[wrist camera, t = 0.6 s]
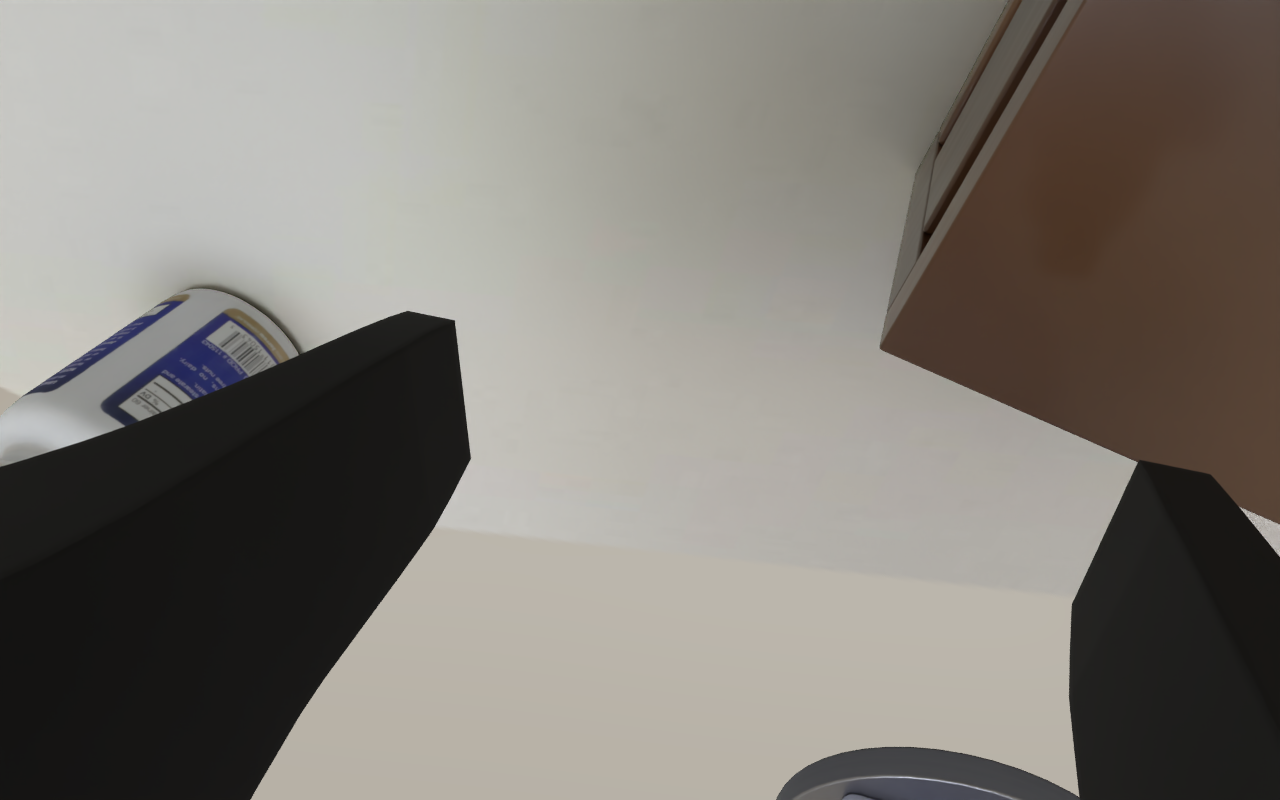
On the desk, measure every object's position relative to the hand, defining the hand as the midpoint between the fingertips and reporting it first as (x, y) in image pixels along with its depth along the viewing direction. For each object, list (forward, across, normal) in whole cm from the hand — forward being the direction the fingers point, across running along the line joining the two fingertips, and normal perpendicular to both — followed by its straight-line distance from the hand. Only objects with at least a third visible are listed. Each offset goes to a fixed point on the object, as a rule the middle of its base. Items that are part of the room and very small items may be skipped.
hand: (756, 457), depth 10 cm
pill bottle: (+11, +18, +10) cm, 23 cm away
